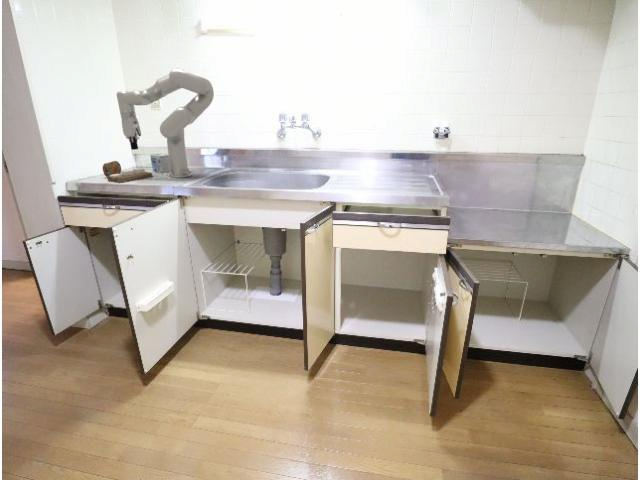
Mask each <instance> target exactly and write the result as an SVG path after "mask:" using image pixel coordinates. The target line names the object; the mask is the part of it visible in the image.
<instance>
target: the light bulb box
mask: <svg viewBox="0 0 640 480" xmlns="http://www.w3.org/2000/svg"><path fill="white" fill-rule="evenodd" d="M150 161H151V168H152V172H154V173H158V174H168V173H171V167H170V161H169V154H167V153H166V154H164V153H155V154H150Z"/></svg>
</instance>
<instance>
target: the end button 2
mask: <svg viewBox="0 0 640 480" xmlns="http://www.w3.org/2000/svg"><path fill="white" fill-rule="evenodd" d="M132 171H133V173H144V172H146V171H145V168H142V167H141V168H140V167H138V168H133V169H132Z"/></svg>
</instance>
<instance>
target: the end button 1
mask: <svg viewBox="0 0 640 480" xmlns="http://www.w3.org/2000/svg"><path fill="white" fill-rule="evenodd" d="M121 174H122V173H121ZM121 174H113V175H110V177H120V176H122V175H121Z"/></svg>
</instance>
